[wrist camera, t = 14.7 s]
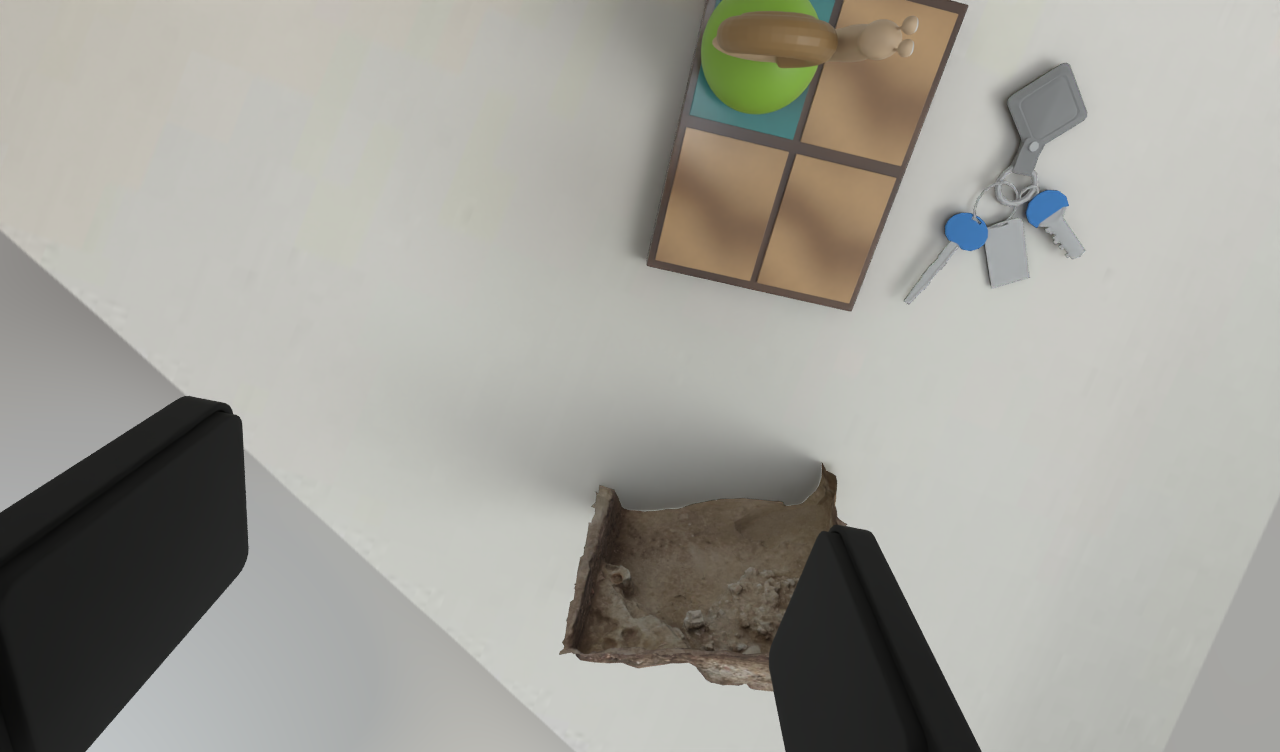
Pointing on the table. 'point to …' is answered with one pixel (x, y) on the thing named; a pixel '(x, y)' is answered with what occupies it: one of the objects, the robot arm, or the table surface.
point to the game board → (801, 164)
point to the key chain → (1038, 121)
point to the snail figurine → (785, 50)
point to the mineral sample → (693, 582)
